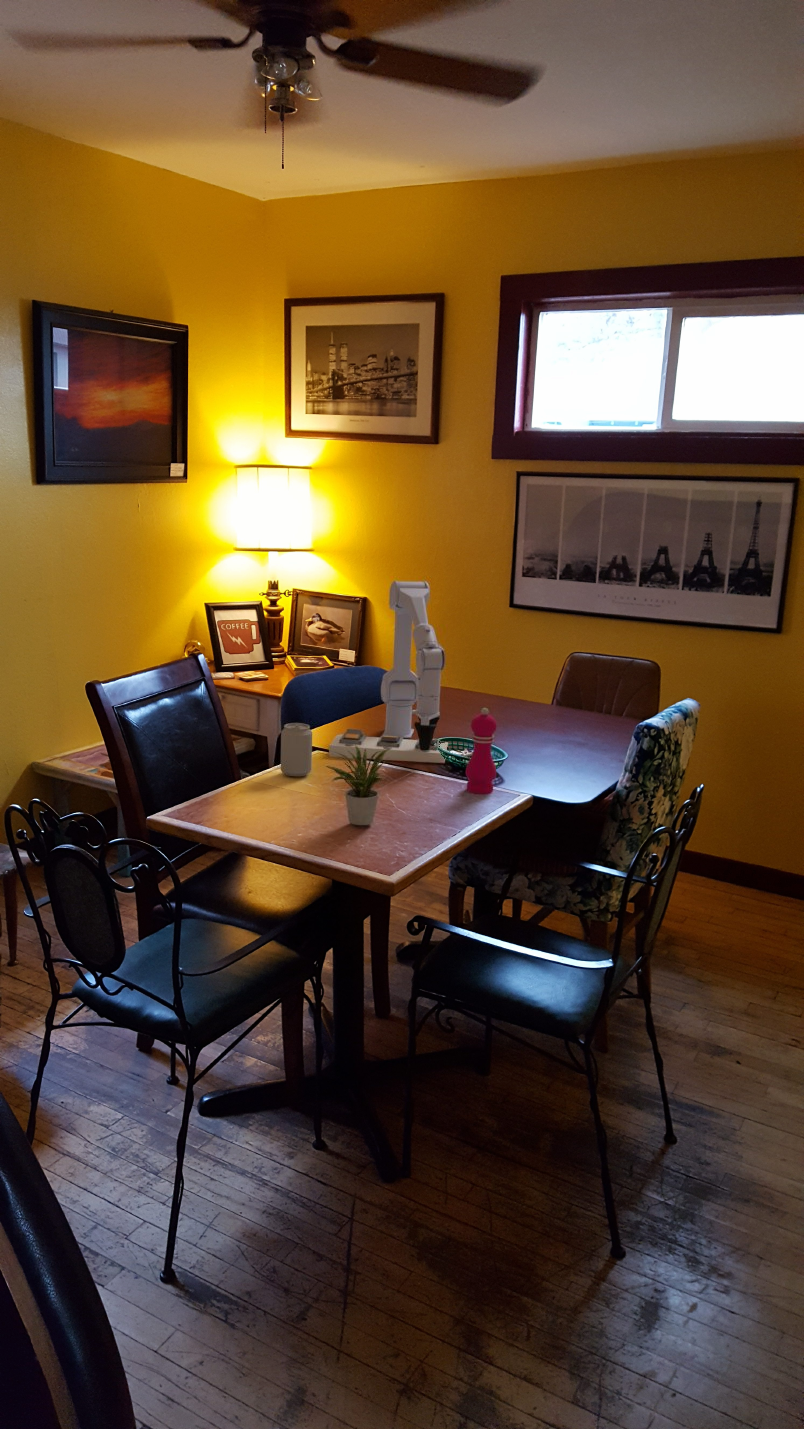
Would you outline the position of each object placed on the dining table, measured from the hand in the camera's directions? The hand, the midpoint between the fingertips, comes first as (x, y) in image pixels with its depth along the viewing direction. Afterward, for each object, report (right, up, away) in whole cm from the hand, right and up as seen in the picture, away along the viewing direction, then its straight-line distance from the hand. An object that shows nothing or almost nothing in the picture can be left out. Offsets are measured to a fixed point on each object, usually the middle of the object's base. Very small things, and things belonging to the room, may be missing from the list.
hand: (426, 746), depth 262 cm
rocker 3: (+1, +1, +6) cm, 6 cm away
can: (-32, -6, -13) cm, 35 cm away
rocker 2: (-9, +2, +7) cm, 12 cm away
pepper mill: (+12, -10, -21) cm, 26 cm away
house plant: (-15, -14, -45) cm, 50 cm away
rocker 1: (-19, +3, +8) cm, 21 cm away
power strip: (-4, -3, +6) cm, 8 cm away
